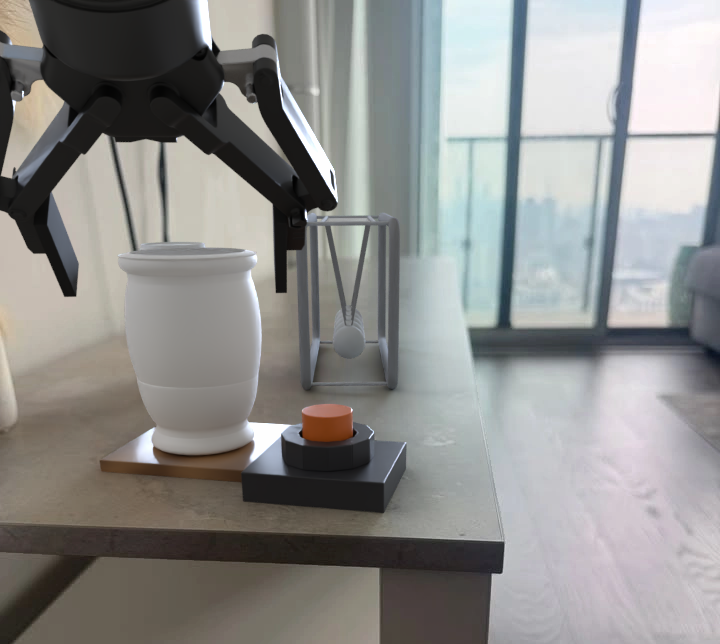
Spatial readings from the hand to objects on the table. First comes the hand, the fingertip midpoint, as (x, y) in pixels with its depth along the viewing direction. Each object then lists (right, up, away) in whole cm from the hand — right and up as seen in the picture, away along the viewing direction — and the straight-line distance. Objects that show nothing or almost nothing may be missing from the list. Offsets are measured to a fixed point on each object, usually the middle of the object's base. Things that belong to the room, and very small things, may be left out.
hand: (177, 278), depth 50 cm
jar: (-1, -10, +12) cm, 16 cm away
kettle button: (+10, -10, +4) cm, 15 cm away
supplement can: (-9, -1, +39) cm, 40 cm away
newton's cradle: (+11, +1, +44) cm, 46 cm away
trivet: (-1, -11, +12) cm, 17 cm away
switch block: (+10, -14, +5) cm, 18 cm away
